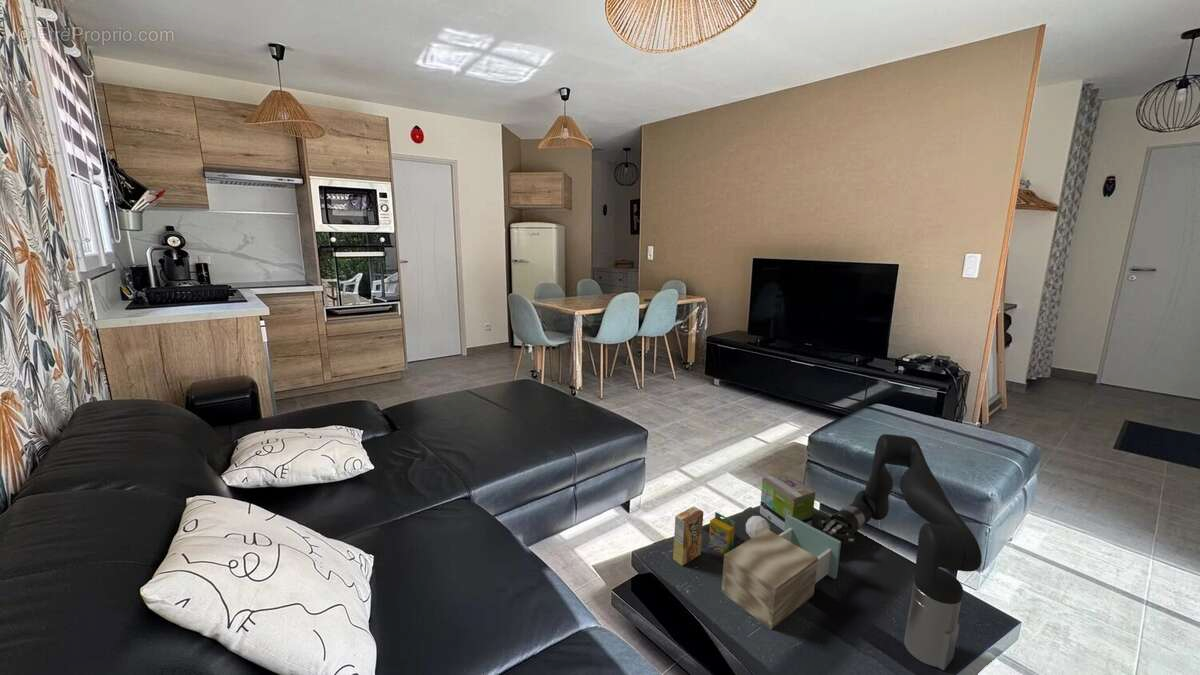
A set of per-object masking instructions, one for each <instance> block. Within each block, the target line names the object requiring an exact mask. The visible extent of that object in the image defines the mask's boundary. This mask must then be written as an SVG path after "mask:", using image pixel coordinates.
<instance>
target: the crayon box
mask: <svg viewBox="0 0 1200 675" xmlns="http://www.w3.org/2000/svg"><path fill="white" fill-rule="evenodd" d="M714 513H715V514H714V517H713V518H711V519H710V521H709V533H708V534H709V536H708V548H711V549H712V550H713V551H716V552H717V553H719V554H721V555H722V556H724V554H726V553H728V552H729V551H731V550H733V549H734V539H735V524H736V522H735V521H734V520H733V519H731V518H728V517H726V516H724V515H722V514H721V513H719V512H717V511H715V512H714ZM724 519H725V520H724ZM726 520H727V521H726Z"/></svg>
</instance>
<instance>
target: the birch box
mask: <svg viewBox="0 0 1200 675" xmlns="http://www.w3.org/2000/svg"><path fill="white" fill-rule="evenodd" d="M817 562H818V557H816V556H814V555H812V554H811V553H809V552H807V551H805V550H804V549H802V548H800V547H798V546H797V545H795V544H793V543H791V542H789V541H788V540H786V539H784V538H782V537H781V536H779V534H778V533H775V532H773V531H772V530H771V529H770V530H768V529H766V530H765V531H763V532H761V533H760V534H758V535H756V536H755V537H753V538H751V537H750V539H748V540H746V541H744V542H742V544H740V545H738V546H736V547H733V550H731V551H729V552H728V553H726V554H724V555H723V564H722V580H721V593H722V594H724V595H725V596H726V597H728V598H729V599H730V600H732V601H733V602H734V603H736V605H738V606H739V607H741V608H742V609H743V610H745V611H746V612H747V613H749V615H751V616H753V617H754V618H755V619H757V620H758V621H759V622H761V623H762V624H763V625H765V626H766V627H767V628H769V629H770V630H773V628H775V627H777V626H778V624H780V623H781V622H782V621H784V620H785V619H786V618H787V617H789V616H790V615H791V614H792V613H793V612H795V611H796V610H798V608H800V607H801V606H802V605H803V604H805V603H806V602H808V601H809V600H810V599H811V598H813V597H814V596H815V586H816V583H815V579H816V571H817Z"/></svg>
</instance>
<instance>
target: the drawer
mask: <svg viewBox="0 0 1200 675" xmlns="http://www.w3.org/2000/svg"><path fill="white" fill-rule="evenodd" d="M778 535H779V536H781V537H782V538H784V539H786V540H788V541H789V542H791V543H793V544H795V545H797V546H798V547H800V548H802V549H804V550H805V551H807V552H809V553H811V554H812V555H814V556H816V557H818V562H817V571H816V579H815V584H817V583H818V582H820V580H822V579H823V578H824V577H826V576H828V577H830V578H831V579H833V580H835V579H836V578H837V576H838V569H839V562H840V555H841V554H840V553H841V546H842V543H841V541H839V540H837V539H835V538H833V537H831V536H829V535H827V534H825V533H823V532H821V531H819V530H817V528H815V527H813V526H812V525H811V526H810V525H808V524H806V523H804V522H802V521H800V520H798V519H796V518H794V517H792V516H790V515H788V514H787V515H786V516H785V526H784V531H783V532H781V533H780V534H778Z"/></svg>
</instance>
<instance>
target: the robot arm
mask: <svg viewBox="0 0 1200 675" xmlns="http://www.w3.org/2000/svg"><path fill="white" fill-rule="evenodd" d="M886 464H887V465H891V466H897V467H906V468H908V469H906V470H905V471H904V472H903V474H902V475H901V477H900V480H899V489H900V491H901V494H902V496H903V498H904V501H905V502H906V504H907V505H908V507H909V508H910V509H911V510H912V511H914V513H915V514H917V515H918V516H920V517H921V518H922V519H924V520H925V521H926V522H925V523H924V524H923V525H922V526H921V527H920V529H919V532H918V540H917V552H916V559H915V566H914V567H915V570H914V572H915V573H914V581H913V586H912V591H911V599H910V603H909V608H908V609H909V610H908V615H907V620H906V621H907V622H906V625H905V626H906V627H905V632H904V639H903V642H904V646H905V648H906V650H907V651H908V652H909V654H910V655H912V657H914V658H915V659H917V660H918V661H919V662H921V663H923V664H925V665H928V666H930V667H935V668H938V669H940V670H942V671H946V669H947V667H948V665H950V664H951V661H952V660H953V659H954V654H955V651H956V647H957V646H956V645H957V640H958V636H959V629H960V623H958V620H959V614H960V610H961V606H962V600H963V596H964V588H963V587H964V586H963V585H962V583H961V582H960V581H959V579H957V578H956V576H954V575H953V574H951V573H949V572H947V571H946V570H944V569H948V570H953V571H960V572H967V573H968V572H970V573H971V572H972V573H973V572H976V571H977V570H978V569H979V568H981V566H982V559H983V558H982V550H981V547H980V545H979V542H978V540H977V539H976V536H975V534H973V531H972V530H971V529H970V528H969V527H968V526H967V524H966V523H965V521H964V520H963V519H962V518H961V517H960V515H959V514H958V513H957V512H956V510H955V509H954V507H953V505H952V504H951V502H950V501H949V499H948V497H947V496H946V493H945V492H944V490H943V488H942V486H941V485H940V483H939V481H938V480H937V479H936V477H935V475H934V474H933V471H932V470H931V469H930V467H929V465H928V462H927V461H926V458H925V455H924V454H923V451H922V448H921V446H920V444H919V443H918V441H917V440H916V439H915V438H913V437H910V436H904V435H897V434H892V433H891V434H889V433H888V434H887V433H883V434H881V435H880V436H879V437H878V439H877V441H876V445H875V448H874V455H873V460H872V465H871V472H870V476H869V478H868V481H867V484H866V485H865V488H864V489H862V490H860V491H859V492H857V493H856V495H855V497H854V499H853V502H852V503H850V504H849V505H847V506H846V507H843V508H841V509H840V510H838V511H837V512H835V513H834V514H833V515H831V516H830V517H829V518H826V519H825V520H822V519H821V518H820V517H816V519H815V526H816V529H817V530H819V531H821V532H823V533H825V534H827V535H829V536H831V537H833V538H835V539H837V540H839V541H841V544H854V543H855V535H854V533H856V532H857V531H859V530H861V528H862V527H863V526H864V525H865V524H867V523H868V522H870V520H871V519H873V520H874V521H882V520H884V519H885V518H886V517H887V515H888V514H889V509H890V508H889V507H890V502H889V501H890V500H889V497H890V494H891V493H892V490H893V487H894V480H893V477H892V475H891V474H890V472H889V470H888V469H887V466H886ZM942 568H943V569H942Z"/></svg>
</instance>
